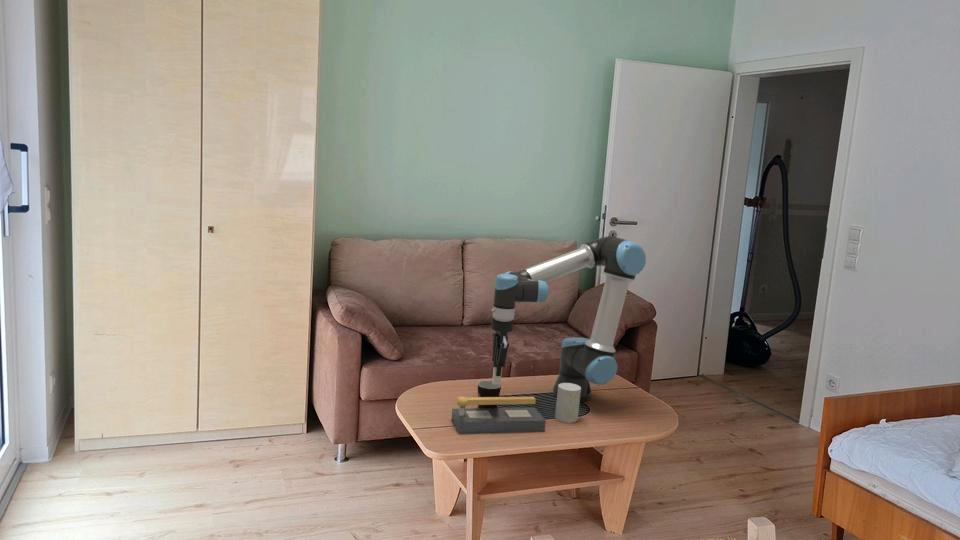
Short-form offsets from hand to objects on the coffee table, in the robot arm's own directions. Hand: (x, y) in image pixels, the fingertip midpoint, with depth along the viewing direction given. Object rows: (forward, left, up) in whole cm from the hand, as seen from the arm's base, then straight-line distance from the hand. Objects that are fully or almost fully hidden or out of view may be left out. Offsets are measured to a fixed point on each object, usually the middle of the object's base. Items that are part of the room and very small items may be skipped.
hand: (496, 383), depth 256 cm
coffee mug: (0, -7, -13) cm, 14 cm away
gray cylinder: (-26, +3, -13) cm, 29 cm away
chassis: (+1, +8, -12) cm, 15 cm away
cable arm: (+2, +8, -4) cm, 9 cm away
